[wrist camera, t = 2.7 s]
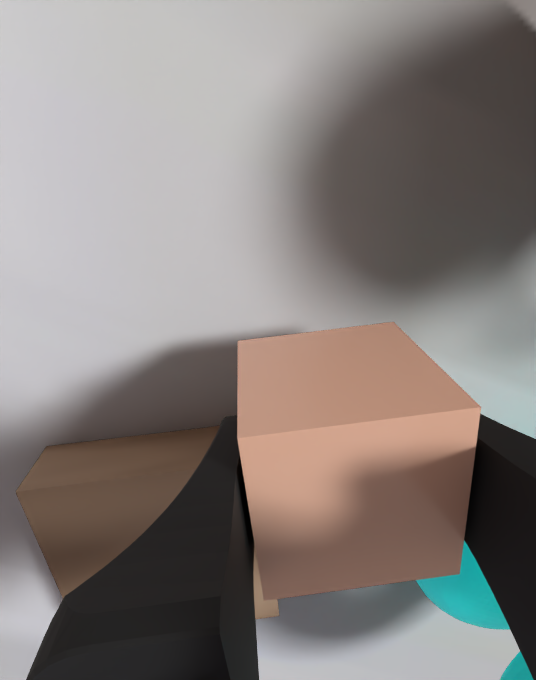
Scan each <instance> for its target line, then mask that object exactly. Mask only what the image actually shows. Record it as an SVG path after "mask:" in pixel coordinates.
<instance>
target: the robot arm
mask: <svg viewBox="0 0 536 680" xmlns="http://www.w3.org/2000/svg"><path fill="white" fill-rule="evenodd" d="M464 541H465V542H466V544H467V546H468V547H469V549H470V551H471V552H472V554H473V556H474V557H475V559H476V561H477V563H478V565H479V567H480V569H481V571H482V573H483V575H484V577H485V579H486V581H487V583H488V585H489V587H490V589H491V590H492V592H493V594H494V597H495V599H496V601H497V603H498V605H499V607H500V609H501V611H502V613H503V615H504V617H505V619H506V621H507V623H508V625H509V627H510V629H511V632H512V634H513V636H514V638H515V640H516V642H517V645H518V647H519V649H520V651H521V653H522V656H523V658H524V660H525V662H526V664H527V667H528V669H529V671H530V673H531V675H532V678H533V680H536V439H534V438H532V437H529V436H527V435H525V434H522V433H520V432H518V431H516V430H513V429H511V428H509V427H507V426H505V425H502V424H500V423H498V422H496V421H494V420H492V419H490V418H488V417H486V416H484V415H482V414H480V420H479V427H478V435H477V443H476V451H475V459H474V466H473V474H472V482H471V490H470V498H469V505H468V513H467V521H466V529H465V537H464ZM253 571H254V537H253V531H252V525H251V519H250V513H249V507H248V501H247V495H246V488H245V482H244V476H243V470H242V464H241V458H240V452H239V446H238V439H237V415H236V416H229V417H225V418H224V419H223V420H222V423H221V425H220V427H219V429H218V432H217V434H216V436H215V438H214V439H213V441H212V443H211V445H210V447H209V449H208V450H207V452H206V454H205V456H204V457H203V459H202V461H201V462H200V464H199V465H198V467H197V468H196V470H195V471H194V473H193V474H192V476H191V477H190V479H189V480H188V482H187V483H186V485H185V486H184V487H183V489H182V490H181V491H180V493H179V494H178V495H177V496H176V498H175V499H174V500H173V501H172V502H171V504H170V505H169V506H168V507H167V508H166V510H165V511H164V512H163V513H162V514H161V515H160V516H159V517H158V518H157V519H156V520H155V521H154V522H153V524H152V525H151V526H150V527H149V528H148V529H147V530H146V531H145V532H144V533H143V534H142V535H141V536H140V537H138V538H137V539H136V540H135V541H134V542H133V543H132V544H131V545H130V546H129V547H127V548H126V549H125V550H124V551H123V552H122V553H120V554H119V555H118V556H117V557H116V558H115V559H113V560H112V561H111V562H110V563H108V564H107V565H106V566H105V567H103V568H102V569H101V570H99V571H98V572H97V573H95V574H94V575H93V576H91V577H90V578H89V579H87V580H86V581H85V582H83V583H82V584H81V585H79V586H78V587H77V588H75V589H74V590H73V591H71V592H70V593H68V594H67V595H65V596H64V598H63V600H62V602H61V604H60V606H59V608H58V610H57V612H56V614H55V615H54V617H53V619H52V621H51V623H50V625H49V627H48V630H47V632H46V634H45V636H44V638H43V641H42V643H41V646H40V648H39V650H38V653H37V655H36V657H35V660H34V662H33V665H32V667H31V669H30V672H29V674H28V676H27V679H26V680H259V672H258V656H257V639H256V623H255V605H254V575H253Z"/></svg>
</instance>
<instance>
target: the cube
mask: <svg viewBox="0 0 536 680" xmlns="http://www.w3.org/2000/svg"><path fill="white" fill-rule="evenodd" d="M480 412H481V407H480V406H479V405H478V404H477V403H476V402H475V401H474V400H473V399H472V398H471V397H470V396H469V395H468V394H467V393H466V392H465V391H464V390H463V389H462V388H461V387H460V386H459V385H458V384H457V383H456V382H455V381H454V380H453V379H452V378H451V377H450V376H449V375H448V374H447V373H446V372H444V371H443V370H442V369H441V368H440V367H439V366H438V365H437V364H436V363H435V362H434V361H433V360H432V359H431V358H430V357H429V356H428V355H427V354H426V353H425V352H424V351H423V350H422V349H421V348H420V347H419V346H418V345H417V344H416V343H415V342H414V341H413V340H412V339H411V338H410V337H409V336H407V335H406V334H405V333H404V332H403V331H402V330H401V329H400V328H399V327H398V326H397V325H396V324H395V323H394V322H388V323H380V324H372V325H363V326H355V327H347V328H339V329H331V330H322V331H314V332H306V333H298V334H290V335H282V336H273V337H265V338H257V339H249V340H241V341H238V390H237V439H238V446H239V452H240V458H241V464H242V470H243V476H244V482H245V488H246V495H247V501H248V507H249V513H250V519H251V525H252V531H253V537H254V543H255V550H256V556H257V562H258V568H259V574H260V580H261V586H262V592H263V599H264V601H267V600H274V599H282V598H289V597H296V596H303V595H311V594H318V593H325V592H333V591H340V590H347V589H355V588H362V587H369V586H376V585H384V584H391V583H398V582H406V581H413V580H420V579H428V578H435V577H442V576H449V575H457V574H460V568H461V560H462V552H463V545H464V537H465V529H466V521H467V513H468V505H469V498H470V490H471V482H472V474H473V466H474V459H475V451H476V443H477V435H478V427H479V420H480Z"/></svg>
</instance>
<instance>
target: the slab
mask: <svg viewBox="0 0 536 680" xmlns="http://www.w3.org/2000/svg"><path fill="white" fill-rule="evenodd" d="M219 427H220V426H214V427H206V428H197V429H189V430H181V431H172V432H164V433H155V434H147V435H138V436H130V437H121V438H113V439H104V440H96V441H87V442H79V443H70V444H62V445H53V446H47V447H46V448H45V449H44V451H43V452H42V454H41V455H40V457H39V458H38V460H37V461H36V463H35V464H34V465H33V467H32V468H31V470H30V471H29V473H28V474H27V476H26V477H25V479H24V480H23V481H22V483H21V484H20V486H19V487H18V489H17V490H16V494H17V497H18V499H19V501H20V503H21V505H22V508H23V510H24V512H25V514H26V517H27V519H28V521H29V523H30V526H31V528H32V530H33V532H34V535H35V537H36V539H37V541H38V544H39V546H40V548H41V550H42V553H43V555H44V557H45V559H46V562H47V564H48V566H49V568H50V571H51V573H52V575H53V577H54V580H55V582H56V584H57V586H58V589H59V591H60V593H61V595H62V597H63V598H64V596H65V595H67V594H68V593H70V592H71V591H73V590H74V589H75V588H77V587H78V586H79V585H81V584H82V583H83V582H85V581H86V580H87V579H89V578H90V577H91V576H93V575H94V574H95V573H97V572H98V571H99V570H101V569H102V568H103V567H105V566H106V565H107V564H108V563H110V562H111V561H112V560H113V559H115V558H116V557H117V556H118V555H119V554H120V553H122V552H123V551H124V550H125V549H126V548H127V547H129V546H130V545H131V544H132V543H133V542H134V541H135V540H136V539H137V538H138V537H140V536H141V535H142V534H143V533H144V532H145V531H146V530H147V529H148V528H149V527H150V526H151V525H152V524H153V522H154V521H155V520H156V519H157V518H158V517H159V516H160V515H161V514H162V513H163V512H164V511H165V510H166V508H167V507H168V506H169V505H170V504H171V502H172V501H173V500H174V499H175V498H176V496H177V495H178V494H179V493H180V491H181V490H182V489H183V487H184V486H185V485H186V483H187V482H188V480H189V479H190V477H191V476H192V474H193V473H194V471H195V470H196V468H197V467H198V465H199V464H200V462H201V461H202V459H203V457H204V456H205V454H206V452H207V450H208V449H209V447H210V445H211V443H212V441H213V439H214V438H215V436H216V434H217V432H218V429H219ZM253 575H254V605H255V619H261V618H268V617H275V616H279V608H278V599H274V600H267V601H264V599H263V592H262V586H261V580H260V574H259V568H258V562H257V556H256V550H255V543H254V571H253Z"/></svg>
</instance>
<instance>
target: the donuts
mask: <svg viewBox="0 0 536 680" xmlns="http://www.w3.org/2000/svg"><path fill="white" fill-rule="evenodd" d="M416 582H417V583H418V585H419V586H420V588H421V589H422V591H423V592H424V593H425V595H426V596H427V597H428V598H429V599H430V600H431V601H432V602H433V603H434V604H435V605H436V606H437V607H439V608H440V609H441V610H443V611H444V612H446V613H448V614H449V615H451V616H453V617H454V618H456V619H458V620H460V621H463V622H466V623H469V624H472V625H476V626H479V627H484V628H490V629H510V627H509V625H508V623H507V621H506V619H505V617H504V615H503V613H502V611H501V609H500V607H499V605H498V603H497V601H496V599H495V597H494V594H493V592H492V590H491V589H490V587H489V585H488V583H487V581H486V579H485V577H484V575H483V573H482V571H481V569H480V567H479V565H478V563H477V561H476V559H475V557H474V556H473V554H472V552H471V551H470V549H469V547H468V546H467V544H466V542H465V541H464V545H463V552H462V560H461V568H460V574H457V575H449V576H442V577H435V578H428V579H420V580H416ZM500 680H533V678H532V675H531V673H530V671H529V669H528V667H527V664H526V662H525V660H524V658H523V656H522V653H521V651H520V652H519V653H518V654H517V655H516V657H515V658H514V659H513V660H512V661H511V663H510V664H509V665H508V667H507V668H506V670H505V671H504V673H503V675H502V677H501V679H500Z"/></svg>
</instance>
